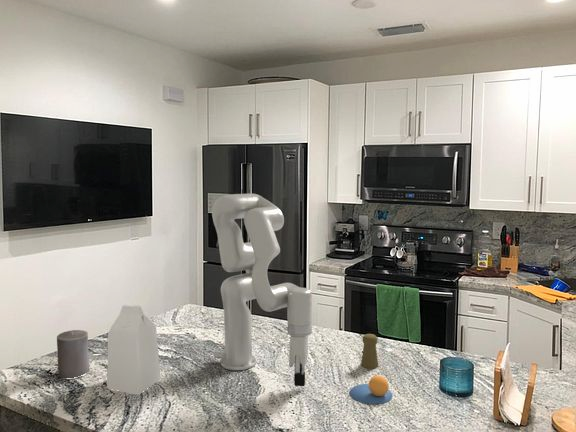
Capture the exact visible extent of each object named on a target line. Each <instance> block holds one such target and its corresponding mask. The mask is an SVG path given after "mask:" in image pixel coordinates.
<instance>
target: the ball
mask: <svg viewBox="0 0 576 432" xmlns="http://www.w3.org/2000/svg"><path fill="white" fill-rule="evenodd" d="M368 384H369V390H370V391H371V393H372V394H373V395H375V396H383V395H385V394H386V393H387V391H388V390H389V382H388V380H387V378H385V377H383V376H382V375H375V376H373V377H371V378H370V379H369V382H368Z"/></svg>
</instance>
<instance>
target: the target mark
mask: <svg viewBox="0 0 576 432" xmlns="http://www.w3.org/2000/svg"><path fill="white" fill-rule="evenodd" d="M349 396H350V397H351V398H352V399H354V401H357V402H359V403H362V404H367V405H380V404H385V403H388V402H390V401H391V400H392V398H393V392H392V391H391V390H390V389H388V391H387V393H386V394H385V395H383V396H375V395H373V394H372V393H371V391H370V390H369V383H362V384H357V385H354V386H353V387H351V388H350V390H349Z"/></svg>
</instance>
